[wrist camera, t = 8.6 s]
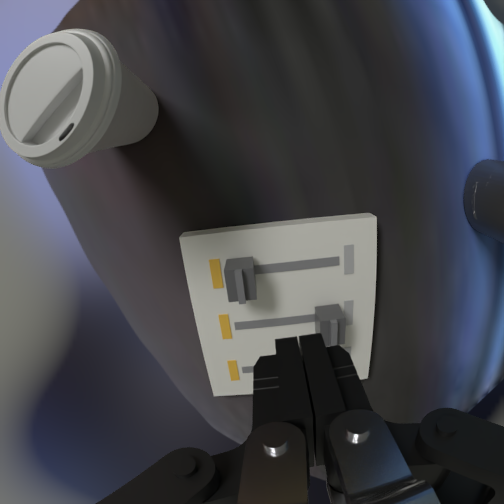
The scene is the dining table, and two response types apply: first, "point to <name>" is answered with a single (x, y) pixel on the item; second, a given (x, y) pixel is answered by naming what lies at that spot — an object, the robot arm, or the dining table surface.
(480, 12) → the dining table surface
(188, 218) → the dining table surface
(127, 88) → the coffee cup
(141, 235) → the dining table surface
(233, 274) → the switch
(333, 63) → the dining table surface
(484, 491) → the robot arm
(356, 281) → the switch panel
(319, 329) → the middle switch
